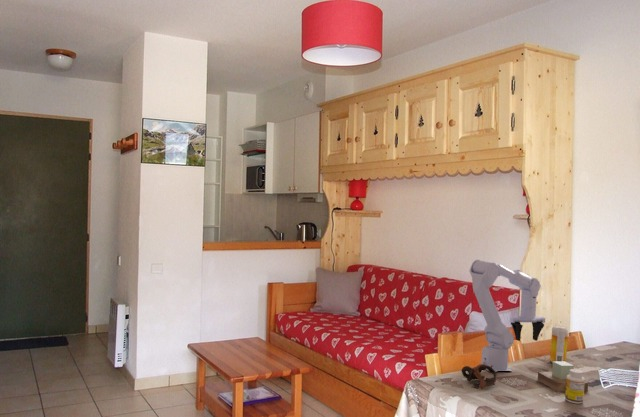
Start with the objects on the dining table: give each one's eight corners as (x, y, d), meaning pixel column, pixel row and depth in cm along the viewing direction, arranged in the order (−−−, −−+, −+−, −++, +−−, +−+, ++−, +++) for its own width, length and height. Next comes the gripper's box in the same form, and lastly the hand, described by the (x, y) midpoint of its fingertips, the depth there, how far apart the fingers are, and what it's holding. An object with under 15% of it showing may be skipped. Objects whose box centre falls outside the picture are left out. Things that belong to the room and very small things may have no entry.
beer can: (562, 361, 233) (565, 326, 233) (567, 365, 227) (570, 329, 227) (548, 360, 234) (550, 324, 233) (552, 364, 228) (555, 328, 227)
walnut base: (557, 391, 194) (558, 383, 193) (537, 380, 205) (538, 372, 205) (587, 391, 196) (588, 382, 196) (566, 379, 208) (566, 371, 208)
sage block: (560, 379, 198) (561, 365, 198) (551, 374, 203) (552, 361, 202) (572, 379, 199) (573, 365, 199) (564, 374, 204) (565, 361, 203)
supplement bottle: (567, 396, 189) (569, 367, 188) (585, 401, 185) (587, 371, 185) (562, 400, 184) (564, 370, 184) (580, 405, 181) (582, 374, 181)
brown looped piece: (490, 382, 201) (498, 366, 197) (490, 401, 193) (499, 385, 189) (458, 370, 203) (466, 354, 199) (456, 389, 195) (464, 373, 190)
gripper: (517, 308, 217) (515, 343, 218) (550, 308, 220) (548, 342, 220) (507, 305, 224) (506, 338, 224) (540, 305, 227) (538, 337, 227)
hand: (526, 340), depth 223 cm, fingers open, 7 cm apart
